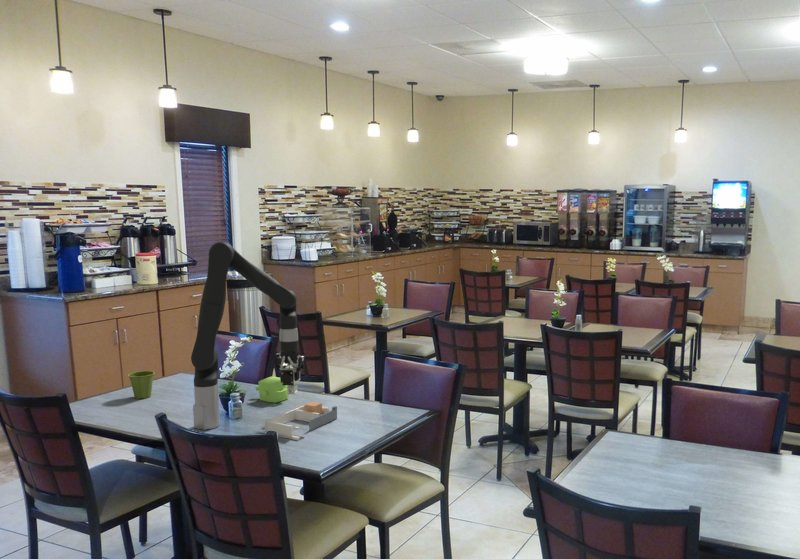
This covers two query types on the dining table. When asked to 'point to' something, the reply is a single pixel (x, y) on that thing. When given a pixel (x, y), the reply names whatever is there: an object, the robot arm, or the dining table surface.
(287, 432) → the tray
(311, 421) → the grey flat board
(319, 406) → the block
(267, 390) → the lime green lidded box
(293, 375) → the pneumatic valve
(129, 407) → the dining table surface
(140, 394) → the plant pot
